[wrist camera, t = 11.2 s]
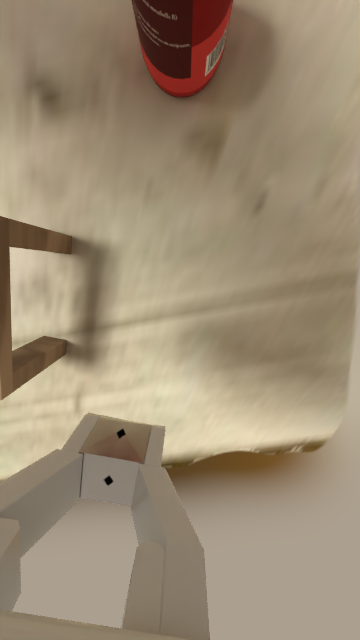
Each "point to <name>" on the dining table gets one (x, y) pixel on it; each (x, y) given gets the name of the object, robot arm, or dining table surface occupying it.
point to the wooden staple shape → (29, 360)
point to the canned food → (182, 41)
